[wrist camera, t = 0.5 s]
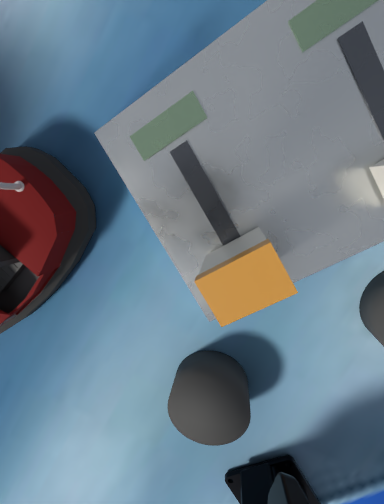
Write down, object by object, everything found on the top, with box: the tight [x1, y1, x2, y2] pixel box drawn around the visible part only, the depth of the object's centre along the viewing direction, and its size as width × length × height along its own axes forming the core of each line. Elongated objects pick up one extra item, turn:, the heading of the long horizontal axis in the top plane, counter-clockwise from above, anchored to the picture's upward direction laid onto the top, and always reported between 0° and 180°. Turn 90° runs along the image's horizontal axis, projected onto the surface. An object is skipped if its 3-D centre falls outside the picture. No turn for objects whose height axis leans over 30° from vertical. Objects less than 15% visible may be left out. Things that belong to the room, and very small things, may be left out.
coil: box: [168, 351, 250, 445], centre depth 20 cm, size 6×6×3 cm
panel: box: [94, 0, 384, 322], centre depth 16 cm, size 14×18×3 cm
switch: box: [194, 227, 298, 327], centre depth 14 cm, size 2×4×5 cm
